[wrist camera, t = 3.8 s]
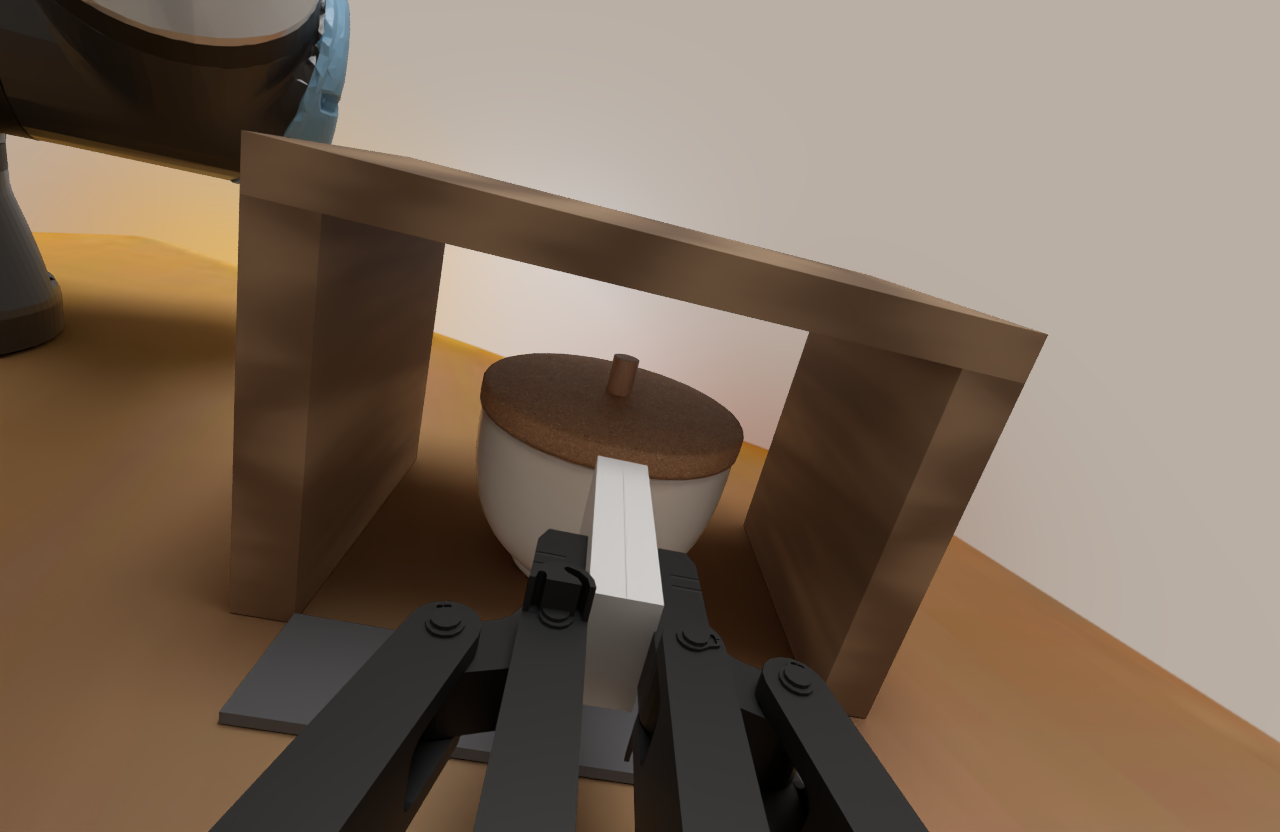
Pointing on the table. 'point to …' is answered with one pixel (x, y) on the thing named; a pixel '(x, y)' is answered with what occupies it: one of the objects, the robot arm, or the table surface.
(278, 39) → the robot arm
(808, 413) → the tunnel
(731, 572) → the table surface
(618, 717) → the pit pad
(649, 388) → the lidded jar
